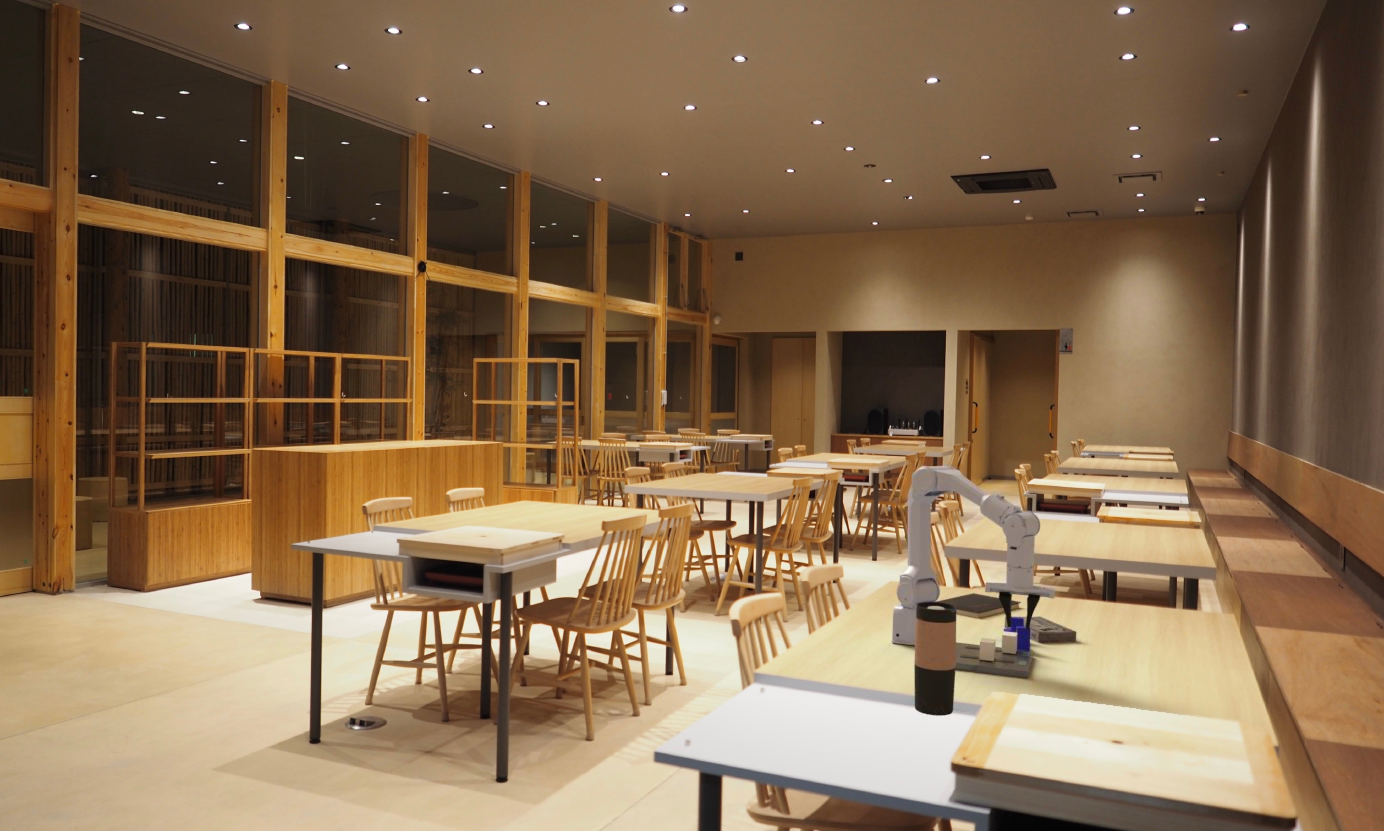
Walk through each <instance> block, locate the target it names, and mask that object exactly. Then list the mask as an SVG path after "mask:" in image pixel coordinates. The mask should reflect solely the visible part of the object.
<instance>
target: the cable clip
mask: <svg viewBox="0 0 1384 831" xmlns="http://www.w3.org/2000/svg"><path fill="white" fill-rule="evenodd" d="M1021 617H1022V616H1011V619H1012V623H1011V627H1010V629H1009V628H1006V627H1004V628H1003V632H1004V631H1005V632H1014V633H1017V649H1019V650H1028V651H1031V639H1030V628H1029V629H1026V627H1024V619H1023V618H1021Z"/></svg>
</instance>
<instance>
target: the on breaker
mask: <svg viewBox="0 0 1384 831" xmlns="http://www.w3.org/2000/svg"><path fill="white" fill-rule="evenodd" d="M1001 636H1002V637H1001V647H1002V652H1003V653H1012V654H1016V651H1017V633H1014V632H1005V631H1004V630H1003V633H1002V635H1001Z"/></svg>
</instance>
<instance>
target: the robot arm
mask: <svg viewBox="0 0 1384 831" xmlns="http://www.w3.org/2000/svg"><path fill="white" fill-rule="evenodd" d="M951 491H952V492H955V493H956V494H959V495H960V496H961V497H963V498H965V499H966V500H969V501H970V502H972V503H973V504H975V505H977V506H979V509H980V514H981V515H983V516H984V517H986V518H987V519H988V520H990V521H991V522H992V523H994V524H996V525H997V526H999V527H1000V528H1001V529H1002V532H1003V534H1004V536H1005V543H1006V547H1007V548H1006V578H1005V579H1006V580H1005V581H1006V582H987V581H986V583H985V584H984V587H985V588H984V592H985V593H995V594H998V598H999V600H1000V602H1001V604H1002V606H1003V609H1004V615H1005V617H1006V620H1007V627H1011V623H1012V619H1011V617H1012V609H1011V601H1012V600H1013V598H1012V597H1013V595H1018V596H1027V598H1026V611H1027V612H1026V617H1027V620H1026V629H1029V628H1030V622H1031V618H1032V617H1033V614H1034V612H1035V610H1036V608H1037V607H1038V606H1037V605H1038V604H1039V601H1040V600H1041V598H1049V599H1055V590H1056V588H1054V587H1045V586H1038V585H1034V573H1035V572H1034V571H1035V570H1034V569H1035V542H1036V541H1035V537H1036V536H1037V535H1038V533H1039V532H1040V531H1041V530H1040V529H1041V521H1040V519H1039V517H1038V516H1037V515H1036V514H1035V513H1034V512H1033V511H1031V510H1024V511H1023V510H1022V508H1021V506H1019V505H1014V504H1013V503H1011V502H1010V501H1009V500H1007V499H1005V495H1004V494H1003V493H995V492H993V493H990V494H988V493H987V492H986V491H984V490H983V489H982V488H980V487H979V486H978V485H977V484H975V483H974V482H972V481H971V480H970V479H968V478H967V477H966V476H964V474H963V473H962V472H961V471H960V470H959V469H957V468H956V469H955V468H954V466H952V465H947V464H946V465H936V466H933V465H932V466H929V465H923V466H920V467H919V468H917V469H916V470H915V471H913V472H912V473H911V486H910V488H909V491H908V493H907V567H905V569H903V571H902V572H901V573H900V575H899V583H898V584H897V587H896V596H897V600H898V601H899V603H900V604H895V605H894V608H893V613H892V636H891V637H892V640H891V643H893V644H900V645H909V646H915V633H916V606H917V604H918V603H921V602H936V601H939V600H938V599H939V597H940V594H941V589H940V585H939V582H938V573H936V571H935V570H933V568H932V567H931V566H932V565H931V558H932V557H931V554H932V553H931V552H932V551H931V550H932V548H931V546H932V545H931V544H932V543H931V542H932V540H931V536H932V534H931V533H932V532H931V531H932V529H931V527H932V526H931V525H932V524H931V522H932V512H931V511H932V510H931V509H932V508H931V506H932V503H933V502H934V501H936V499H937V498H939V497H940V496H941V495H944V494H947V493H949V492H951ZM1007 627H1006V628H1007Z"/></svg>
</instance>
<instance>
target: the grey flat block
mask: <svg viewBox="0 0 1384 831" xmlns="http://www.w3.org/2000/svg"><path fill="white" fill-rule="evenodd" d="M1020 617H1021V618H1023V619H1024V627H1026V620H1027V616H1020ZM1004 628H1006V629H1010V627H1007V620H1006V616H1005V617H1004ZM1030 640H1031V641H1034V642H1036V643H1039V644H1041V643H1042V644H1047V643H1048V644H1049V643H1075V642H1076V641H1077V631H1075V630H1073V629H1071V628H1068V627H1065V626H1064V625H1062V624H1058V623H1057V622H1053V621H1052V620H1049V619H1048V618H1044V617H1042V616H1032V618H1031V622H1030Z"/></svg>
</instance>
